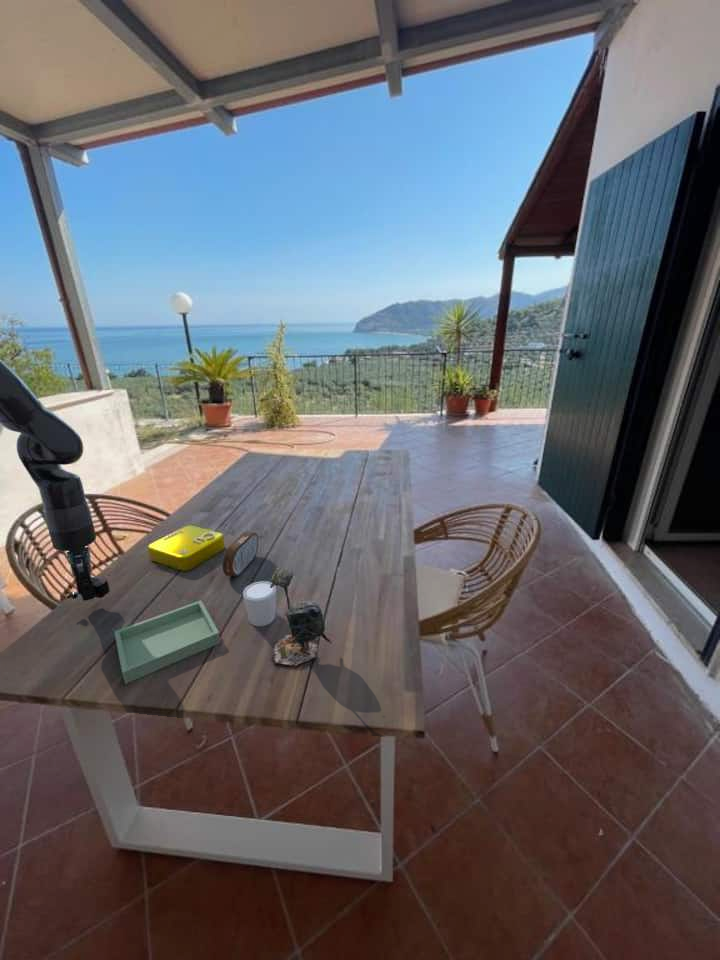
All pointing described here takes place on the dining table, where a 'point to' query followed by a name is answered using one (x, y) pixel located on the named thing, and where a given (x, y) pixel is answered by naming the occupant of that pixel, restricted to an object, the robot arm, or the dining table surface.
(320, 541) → the dining table surface
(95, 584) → the wireless earbuds
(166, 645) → the pale tray
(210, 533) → the element tile
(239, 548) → the brown digital clock
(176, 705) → the dining table surface
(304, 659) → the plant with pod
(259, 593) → the white cylinder
